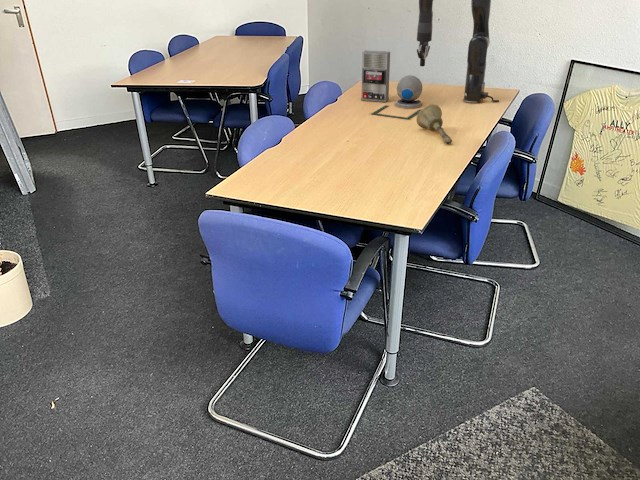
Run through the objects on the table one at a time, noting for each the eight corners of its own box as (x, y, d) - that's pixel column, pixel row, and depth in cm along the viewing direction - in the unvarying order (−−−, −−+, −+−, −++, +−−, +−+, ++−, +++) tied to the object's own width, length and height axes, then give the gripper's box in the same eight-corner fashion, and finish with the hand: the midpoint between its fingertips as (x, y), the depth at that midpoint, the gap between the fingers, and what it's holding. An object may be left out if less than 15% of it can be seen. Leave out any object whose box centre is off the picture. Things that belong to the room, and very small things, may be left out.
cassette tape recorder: (360, 100, 288) (361, 52, 276) (364, 97, 293) (365, 50, 281) (385, 102, 283) (387, 53, 271) (388, 99, 288) (390, 51, 276)
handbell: (428, 131, 246) (450, 159, 227) (410, 119, 240) (431, 146, 221) (445, 111, 241) (469, 137, 223) (428, 98, 235) (451, 123, 216)
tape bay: (422, 110, 269) (422, 110, 269) (408, 119, 256) (408, 118, 256) (385, 105, 278) (385, 105, 278) (371, 114, 265) (371, 113, 265)
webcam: (423, 102, 281) (425, 73, 274) (418, 109, 271) (420, 79, 264) (398, 101, 285) (400, 72, 278) (393, 107, 275) (395, 77, 267)
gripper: (426, 33, 267) (424, 69, 275) (436, 29, 276) (433, 64, 285) (412, 32, 270) (410, 67, 278) (422, 29, 280) (420, 63, 288)
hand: (422, 66), depth 282 cm, fingers closed
